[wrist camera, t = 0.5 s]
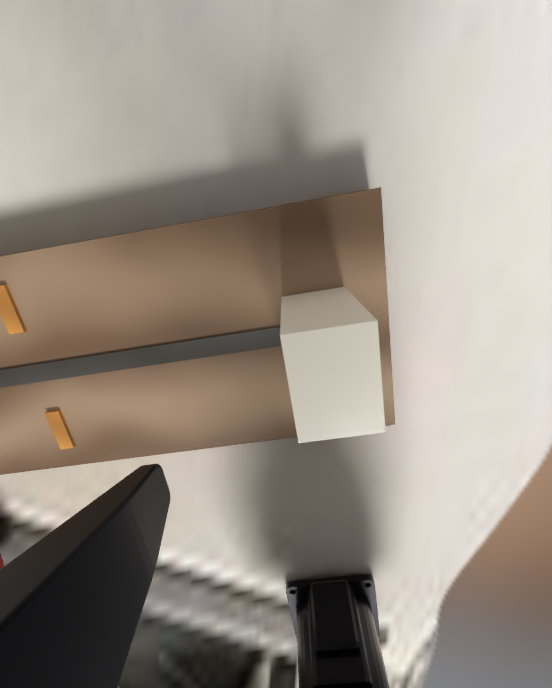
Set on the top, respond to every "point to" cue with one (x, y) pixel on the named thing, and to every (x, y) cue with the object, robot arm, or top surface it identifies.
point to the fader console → (174, 331)
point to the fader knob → (332, 365)
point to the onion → (1, 562)
